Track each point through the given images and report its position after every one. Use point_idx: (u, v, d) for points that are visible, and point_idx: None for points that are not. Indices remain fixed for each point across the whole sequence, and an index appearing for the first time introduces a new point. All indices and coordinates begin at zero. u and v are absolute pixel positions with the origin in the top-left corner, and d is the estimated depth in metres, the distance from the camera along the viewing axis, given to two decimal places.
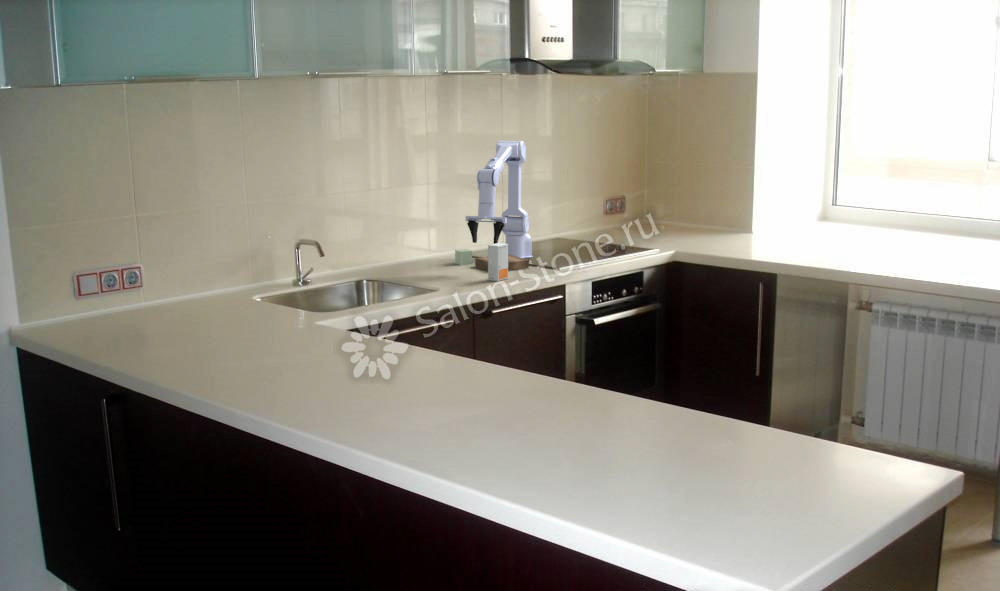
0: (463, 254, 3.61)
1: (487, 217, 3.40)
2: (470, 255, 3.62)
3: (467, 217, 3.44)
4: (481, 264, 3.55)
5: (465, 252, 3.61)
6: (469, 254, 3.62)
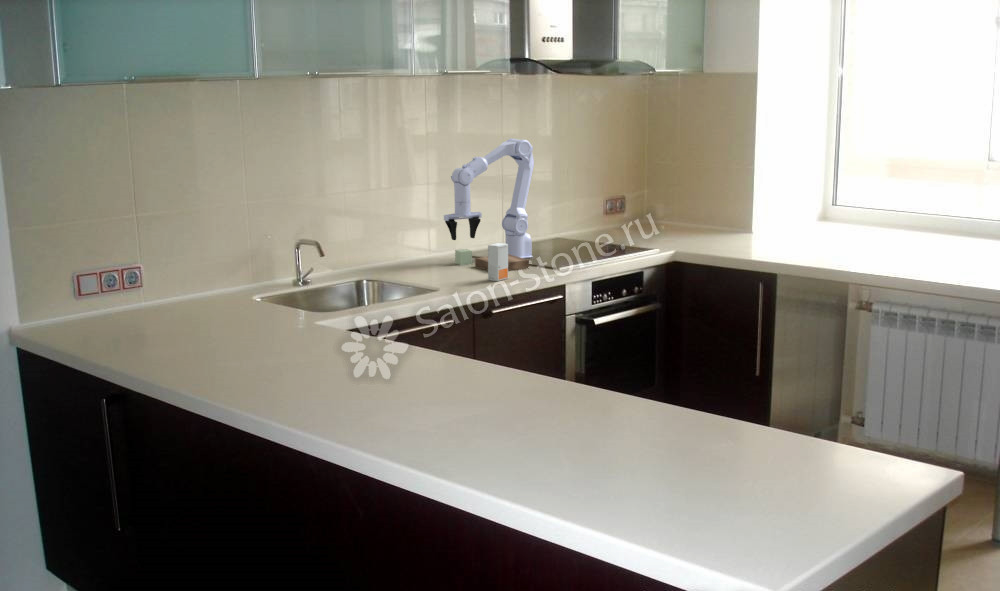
0: (463, 254, 3.61)
1: (469, 215, 3.59)
2: (470, 255, 3.62)
3: (448, 217, 3.56)
4: (481, 264, 3.55)
5: (465, 252, 3.61)
6: (469, 254, 3.62)
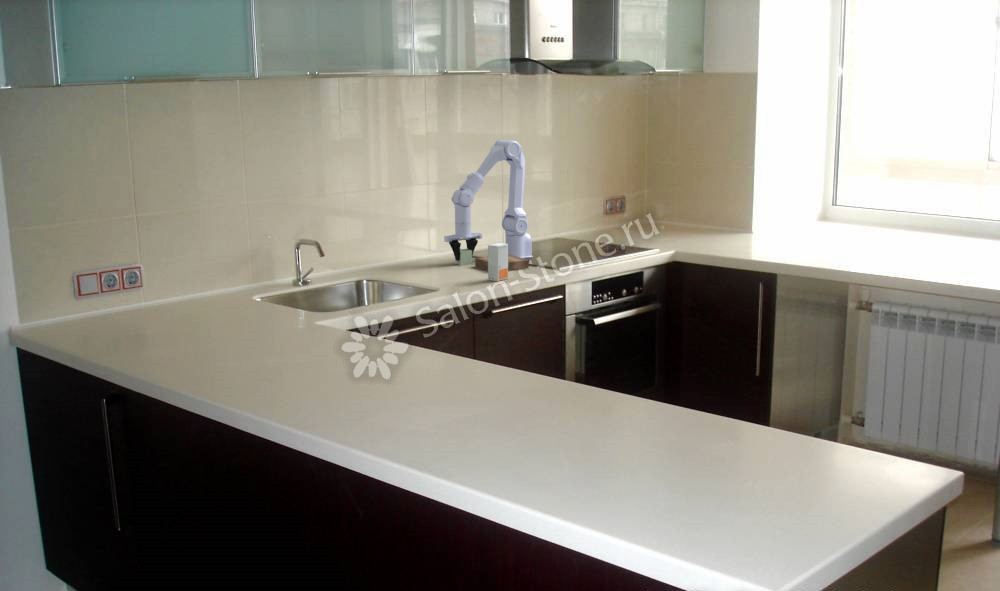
0: (463, 254, 3.61)
1: None
2: (470, 255, 3.62)
3: (448, 238, 3.58)
4: (481, 264, 3.55)
5: (465, 252, 3.61)
6: (469, 253, 3.62)
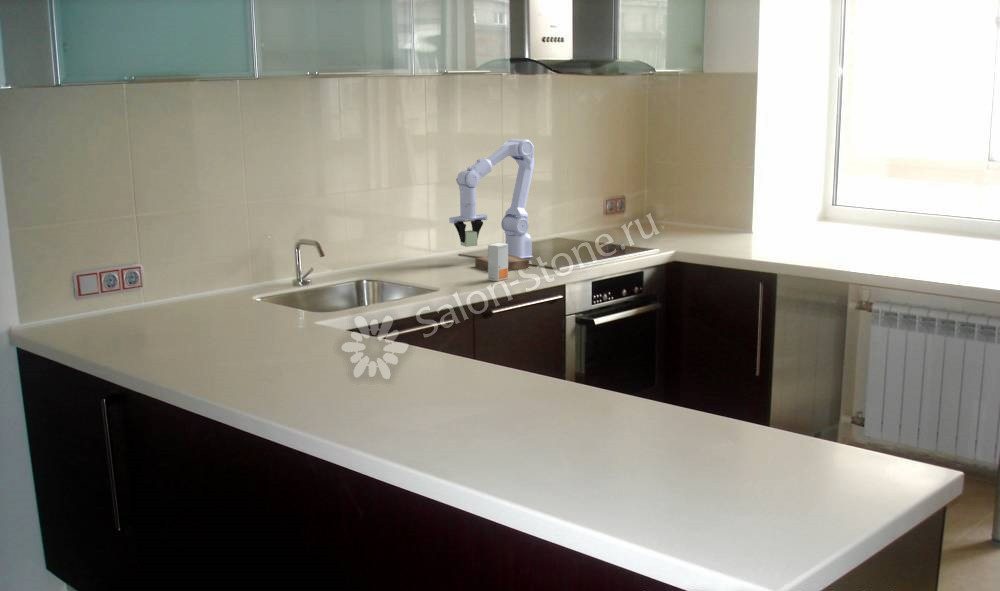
0: (468, 235, 3.58)
1: None
2: (475, 236, 3.60)
3: (453, 219, 3.55)
4: (481, 264, 3.55)
5: (470, 233, 3.58)
6: (475, 235, 3.59)
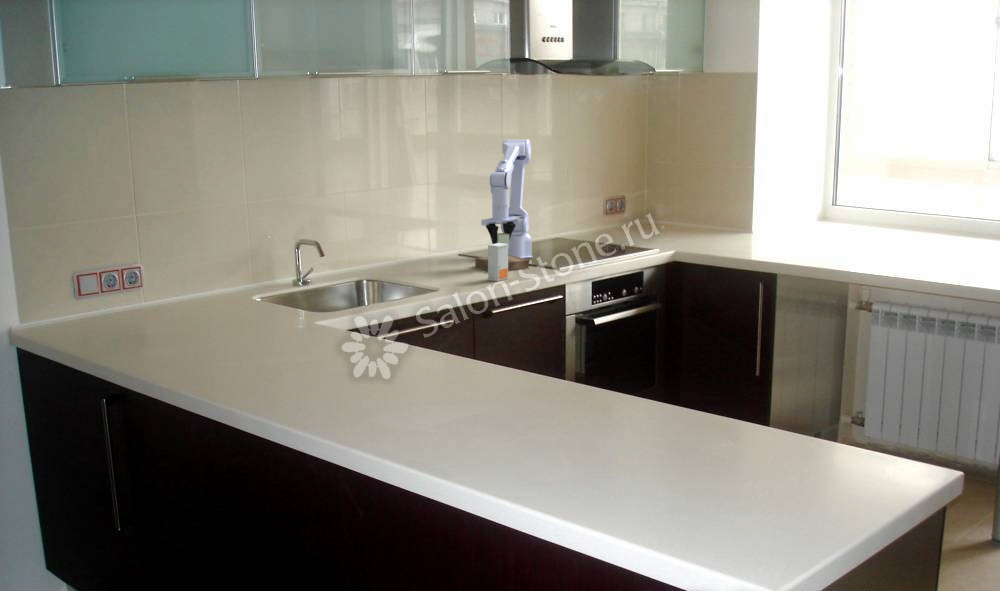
0: (500, 238, 3.52)
1: (507, 219, 3.51)
2: (507, 239, 3.53)
3: (485, 221, 3.49)
4: (481, 264, 3.55)
5: (502, 236, 3.52)
6: (507, 238, 3.53)
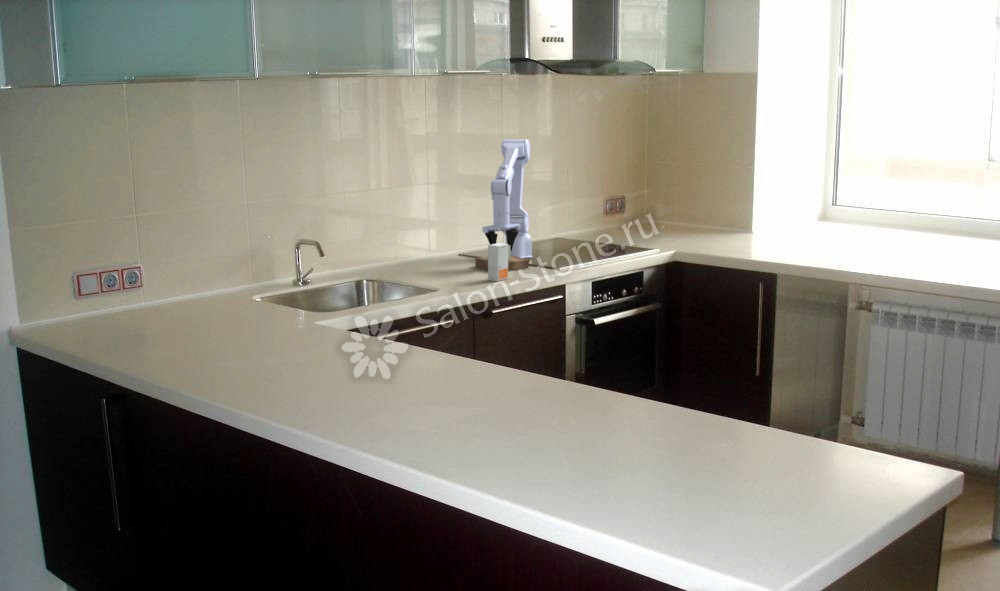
0: None
1: (508, 226, 3.51)
2: (508, 250, 3.54)
3: (487, 228, 3.49)
4: (481, 264, 3.55)
5: None
6: (508, 249, 3.54)
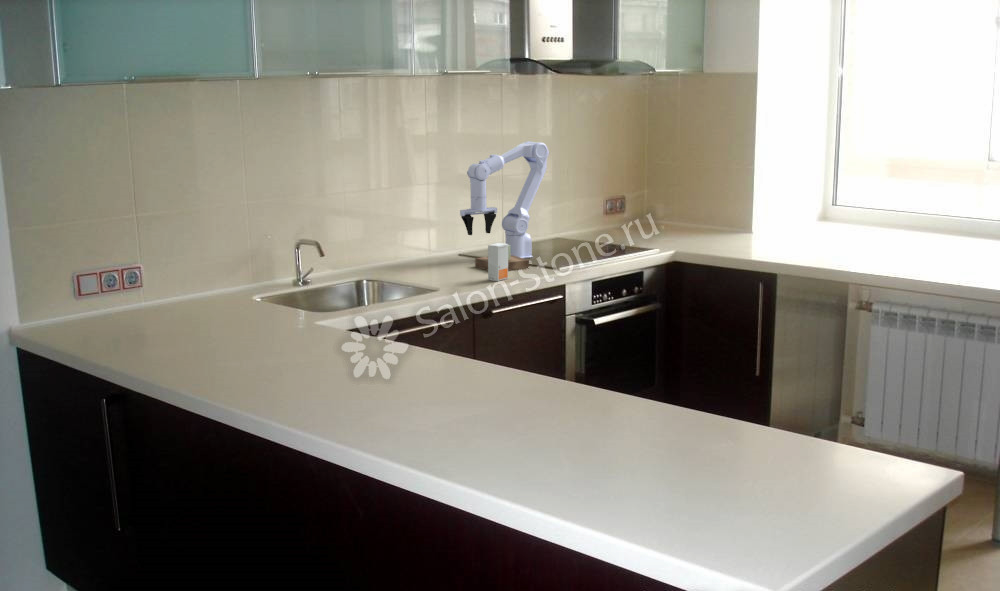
0: None
1: None
2: (508, 250, 3.54)
3: (464, 212, 3.59)
4: (481, 264, 3.55)
5: None
6: (508, 249, 3.54)
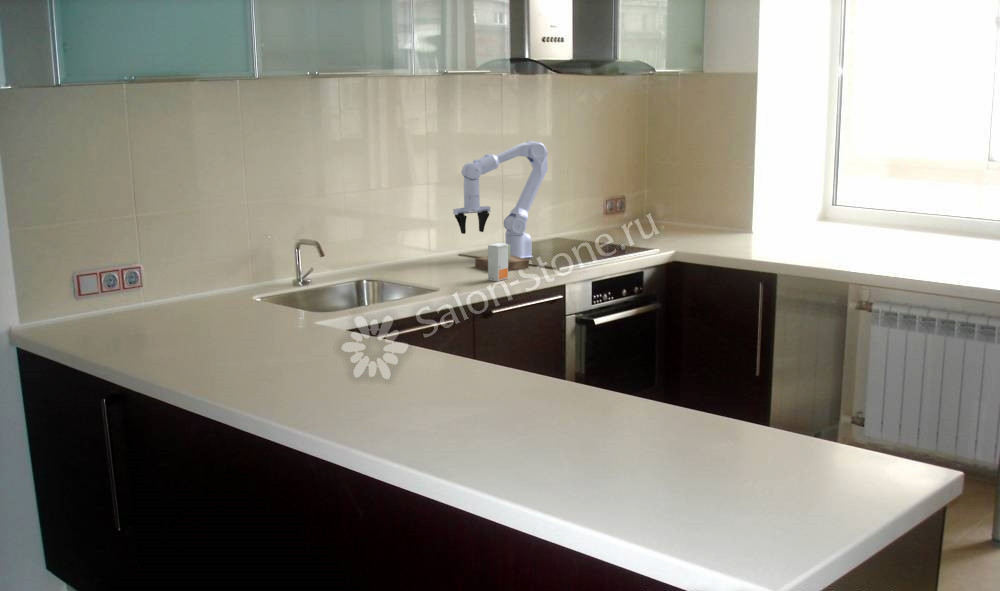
0: None
1: (478, 209, 3.65)
2: (508, 250, 3.54)
3: (457, 211, 3.62)
4: (481, 264, 3.55)
5: None
6: (508, 249, 3.54)
